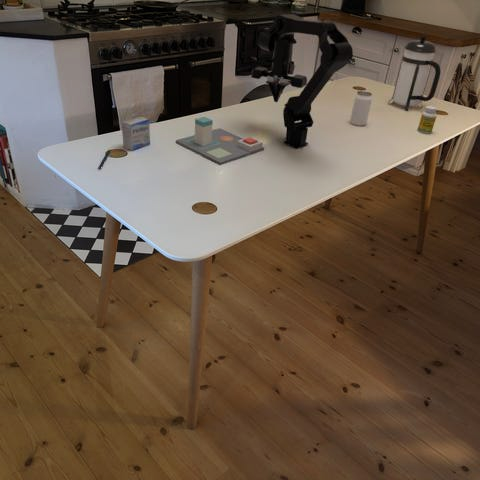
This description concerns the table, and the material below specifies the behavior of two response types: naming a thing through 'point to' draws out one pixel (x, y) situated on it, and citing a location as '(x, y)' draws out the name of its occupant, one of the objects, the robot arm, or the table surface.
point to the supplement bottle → (427, 120)
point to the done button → (249, 140)
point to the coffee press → (415, 74)
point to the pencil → (104, 159)
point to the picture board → (222, 147)
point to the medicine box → (136, 133)
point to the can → (361, 108)
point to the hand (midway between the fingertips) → (276, 101)
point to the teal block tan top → (203, 131)
